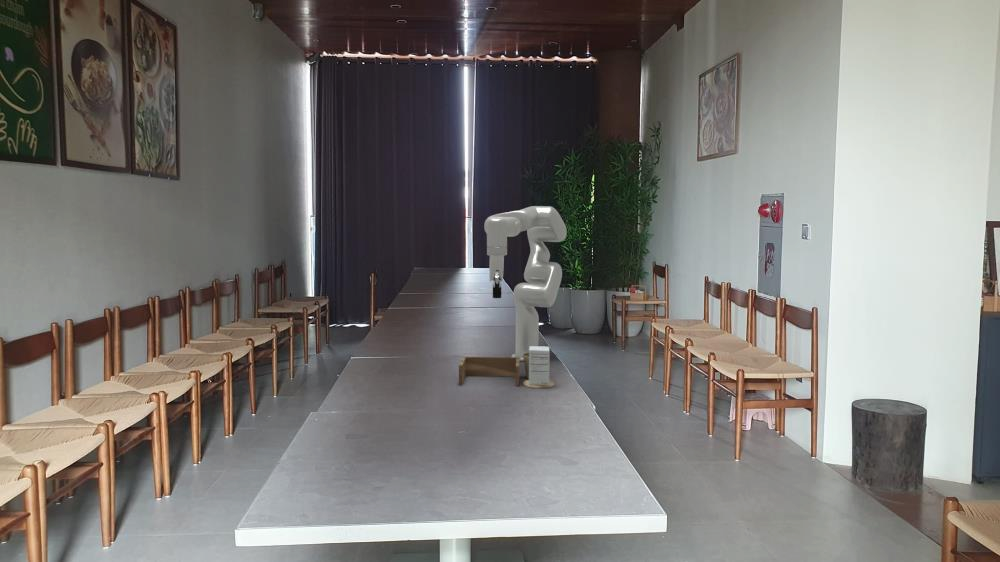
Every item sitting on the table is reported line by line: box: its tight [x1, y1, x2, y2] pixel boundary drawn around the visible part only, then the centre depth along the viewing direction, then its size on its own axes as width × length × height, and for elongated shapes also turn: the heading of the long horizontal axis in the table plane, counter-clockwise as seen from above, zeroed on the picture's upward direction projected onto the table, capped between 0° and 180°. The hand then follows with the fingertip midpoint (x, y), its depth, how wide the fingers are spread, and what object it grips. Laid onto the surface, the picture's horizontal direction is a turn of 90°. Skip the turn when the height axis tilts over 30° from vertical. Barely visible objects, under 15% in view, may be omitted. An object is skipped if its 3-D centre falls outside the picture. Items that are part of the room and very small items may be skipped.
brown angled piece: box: [458, 356, 521, 387], centre depth 274 cm, size 15×21×7 cm
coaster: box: [523, 379, 555, 389], centre depth 269 cm, size 11×11×1 cm
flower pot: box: [522, 352, 529, 379], centre depth 279 cm, size 9×9×9 cm
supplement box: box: [528, 345, 551, 385], centre depth 268 cm, size 7×7×13 cm
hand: (497, 296), depth 284 cm, fingers open, 9 cm apart
